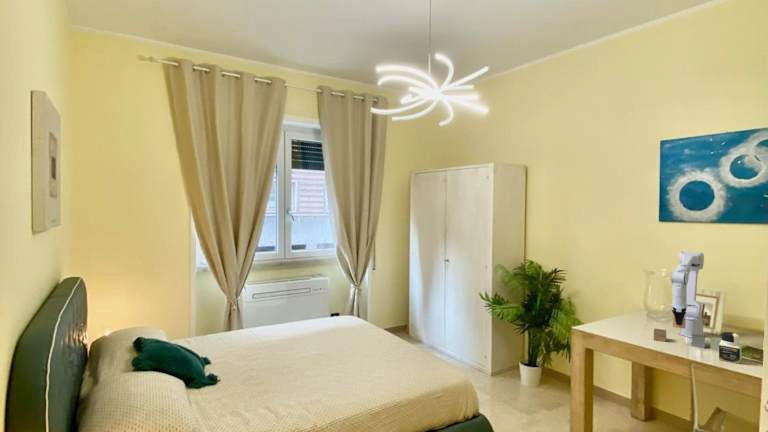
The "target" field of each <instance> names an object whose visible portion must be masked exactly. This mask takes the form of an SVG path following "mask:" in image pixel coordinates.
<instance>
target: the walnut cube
mask: <svg viewBox="0 0 768 432" xmlns="http://www.w3.org/2000/svg"><path fill="white" fill-rule="evenodd" d="M653 341H654V342H655V341H656V342H661V343H662V342H664V343H666V342H667V330H666V329H662V328H653Z"/></svg>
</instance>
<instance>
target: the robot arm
mask: <svg viewBox="0 0 768 432" xmlns="http://www.w3.org/2000/svg"><path fill="white" fill-rule="evenodd" d="M678 259H679V262H680V264H678V265H677V267H676V269H675V270H674V271H672V272H671V273H670V283H671V284H670V286H671V289H672V292H671V293H672V296H671V297H672V300H671V303H669V307H672V309H671V312H672V315H674V316H675V321H676V325H682V322H683V318H684V316H686V327H685V329H683V328H680V332H676V334H678V335H680V336H683V337H687V338H689V339H690V338H691V339H692V334H697V335H704V323H703V321H702V316H703V306H702V304H701V303H699V301H697V300H696V299H697V288H698V275H699V271H700V270H703V268H704V263H705V256H704V253H703V252H693V251H681V252H679V256H678Z"/></svg>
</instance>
